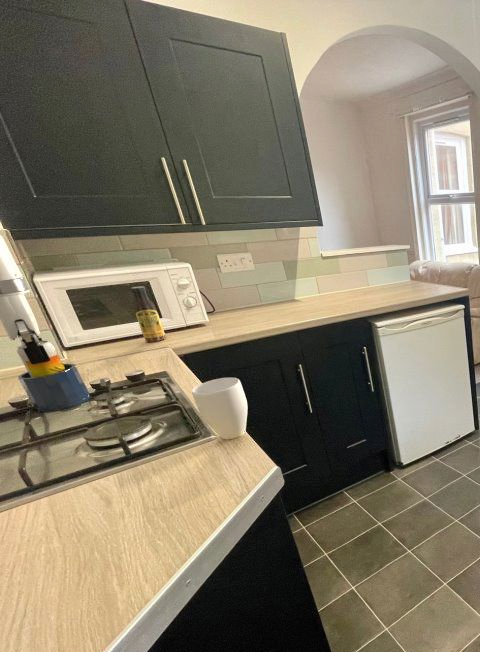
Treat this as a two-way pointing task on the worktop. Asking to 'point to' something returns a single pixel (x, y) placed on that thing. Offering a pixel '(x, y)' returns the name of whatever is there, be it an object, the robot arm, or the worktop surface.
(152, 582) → the worktop surface
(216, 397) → the mug
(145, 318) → the sauce bottle
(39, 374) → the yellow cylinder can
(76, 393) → the crock
